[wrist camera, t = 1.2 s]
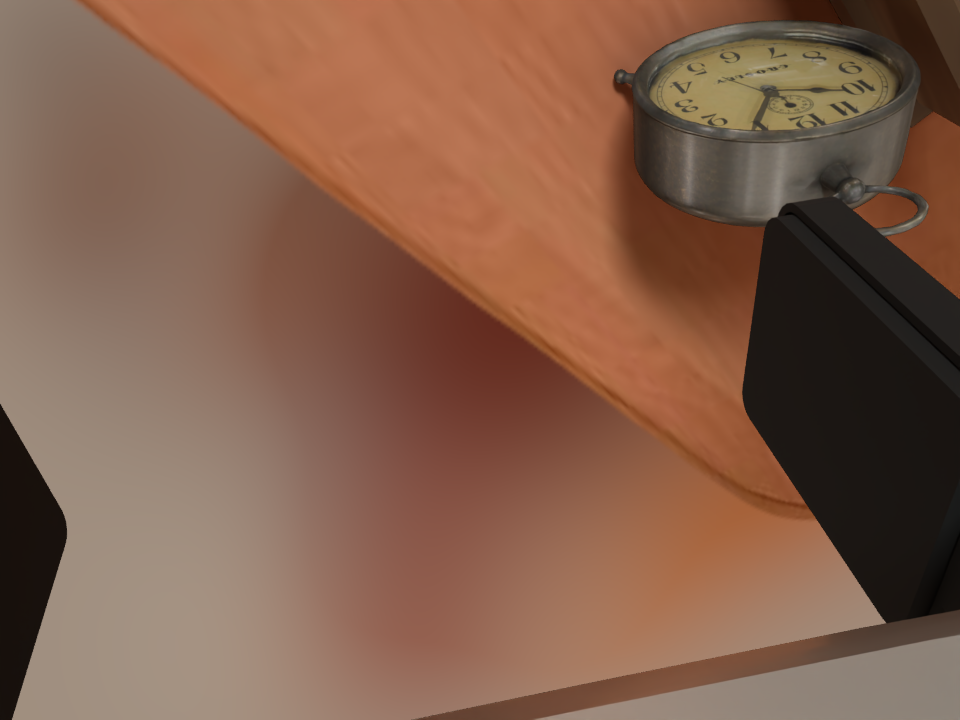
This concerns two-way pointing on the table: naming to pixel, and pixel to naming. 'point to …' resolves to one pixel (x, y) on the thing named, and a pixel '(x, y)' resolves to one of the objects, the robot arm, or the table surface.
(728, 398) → the table surface
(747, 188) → the alarm clock
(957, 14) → the wooden tray
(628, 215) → the table surface
